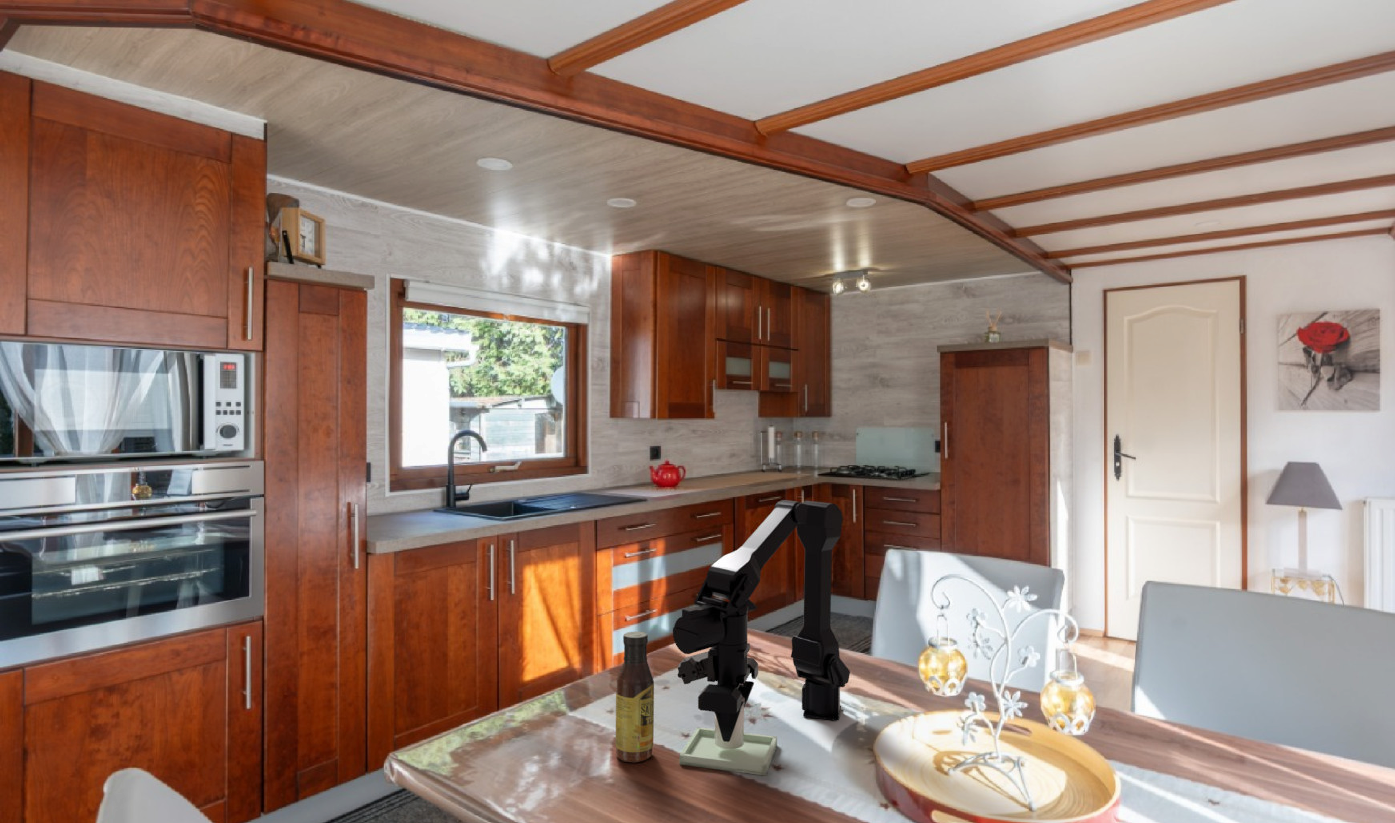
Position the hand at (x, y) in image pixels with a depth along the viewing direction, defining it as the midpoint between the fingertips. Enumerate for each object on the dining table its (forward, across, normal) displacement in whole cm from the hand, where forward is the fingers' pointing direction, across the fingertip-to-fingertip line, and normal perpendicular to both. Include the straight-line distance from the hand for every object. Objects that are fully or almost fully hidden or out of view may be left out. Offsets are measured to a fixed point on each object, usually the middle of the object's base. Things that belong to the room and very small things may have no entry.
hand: (729, 734), depth 125 cm
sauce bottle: (+4, +4, -15) cm, 16 cm away
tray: (+3, 0, 0) cm, 3 cm away
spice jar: (+1, 0, 0) cm, 1 cm away
